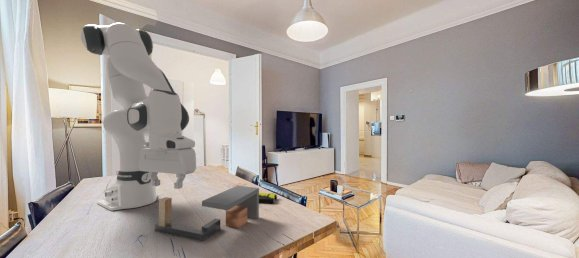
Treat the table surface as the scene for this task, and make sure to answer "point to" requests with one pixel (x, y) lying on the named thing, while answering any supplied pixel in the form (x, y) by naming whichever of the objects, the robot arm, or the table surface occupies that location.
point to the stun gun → (267, 198)
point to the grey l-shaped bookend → (236, 200)
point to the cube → (236, 216)
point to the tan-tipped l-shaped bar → (181, 231)
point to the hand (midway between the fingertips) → (166, 187)
